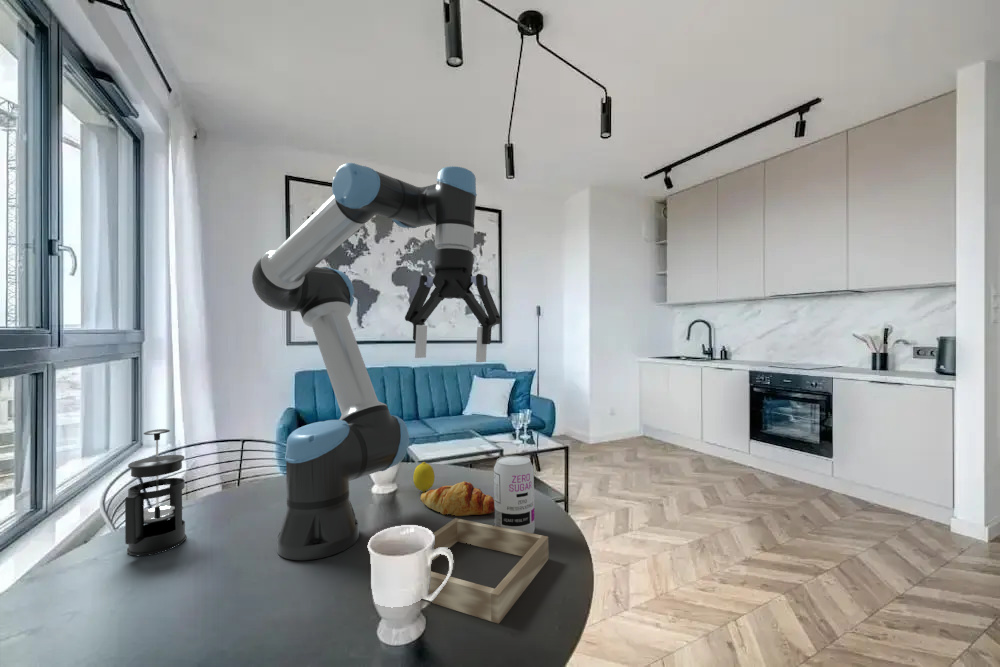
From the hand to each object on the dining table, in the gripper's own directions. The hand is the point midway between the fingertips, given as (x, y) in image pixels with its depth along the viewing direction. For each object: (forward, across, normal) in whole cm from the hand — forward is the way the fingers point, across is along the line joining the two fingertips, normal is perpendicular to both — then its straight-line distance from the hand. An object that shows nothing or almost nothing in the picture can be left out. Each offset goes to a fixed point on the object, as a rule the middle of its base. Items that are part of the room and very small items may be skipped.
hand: (449, 359), depth 84 cm
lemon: (+38, +20, -24) cm, 49 cm away
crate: (+36, -10, +6) cm, 38 cm away
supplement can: (+36, -11, -11) cm, 39 cm away
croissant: (+37, +6, -18) cm, 41 cm away
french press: (+40, +54, +21) cm, 70 cm away
